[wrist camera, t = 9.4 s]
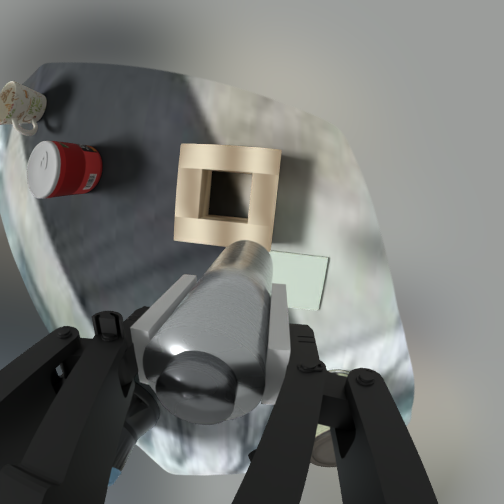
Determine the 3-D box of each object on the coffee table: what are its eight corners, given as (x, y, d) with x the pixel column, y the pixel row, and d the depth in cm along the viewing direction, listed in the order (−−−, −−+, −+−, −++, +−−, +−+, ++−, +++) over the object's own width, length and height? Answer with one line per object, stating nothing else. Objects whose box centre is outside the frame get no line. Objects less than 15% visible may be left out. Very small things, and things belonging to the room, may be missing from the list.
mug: (45, 82, 33) (12, 72, 24) (60, 120, 35) (22, 113, 26) (24, 111, 35) (-9, 106, 26) (37, 150, 37) (0, 149, 27)
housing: (186, 233, 38) (173, 240, 33) (193, 148, 35) (181, 143, 30) (271, 243, 37) (270, 251, 32) (281, 155, 34) (281, 149, 29)
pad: (263, 303, 39) (263, 304, 39) (270, 250, 37) (270, 251, 37) (317, 309, 39) (318, 310, 38) (327, 257, 37) (328, 258, 36)
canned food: (103, 141, 36) (58, 133, 25) (105, 190, 38) (58, 194, 27) (71, 151, 37) (26, 148, 26) (72, 196, 38) (27, 202, 28)
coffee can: (334, 415, 44) (343, 471, 30) (291, 398, 43) (291, 459, 30) (369, 380, 41) (391, 437, 28) (326, 360, 41) (340, 422, 27)
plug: (218, 289, 23) (142, 424, 8) (220, 237, 22) (120, 330, 7) (270, 294, 22) (257, 446, 8) (275, 242, 21) (270, 354, 7)
